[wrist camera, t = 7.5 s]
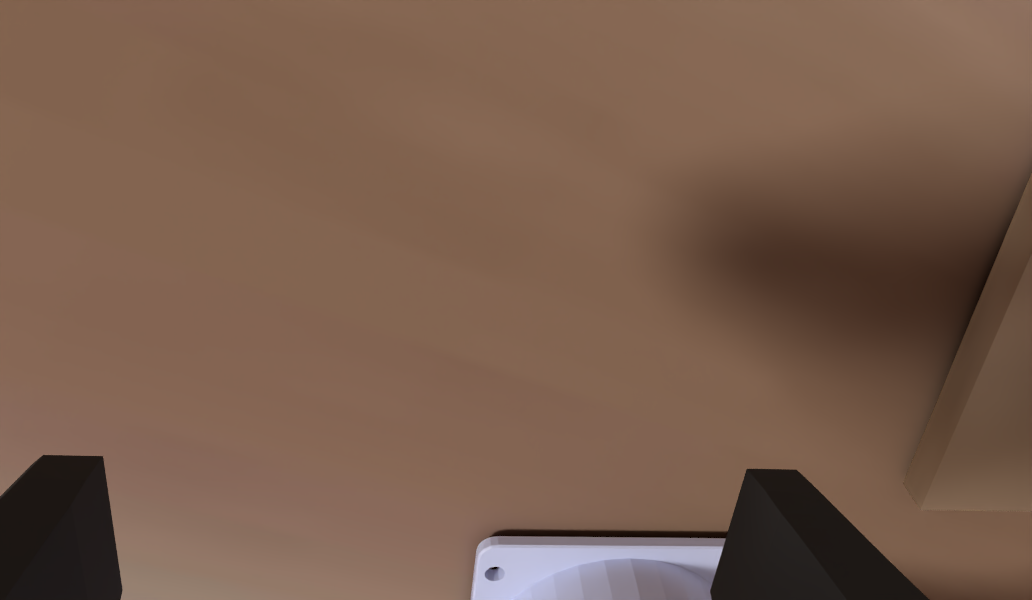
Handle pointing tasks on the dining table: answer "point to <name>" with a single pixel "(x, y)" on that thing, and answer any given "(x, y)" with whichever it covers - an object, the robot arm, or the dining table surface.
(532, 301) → the dining table surface
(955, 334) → the dining table surface
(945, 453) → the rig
